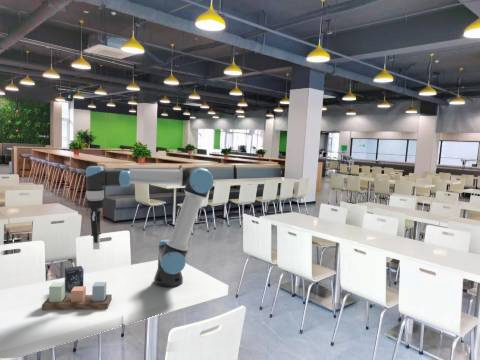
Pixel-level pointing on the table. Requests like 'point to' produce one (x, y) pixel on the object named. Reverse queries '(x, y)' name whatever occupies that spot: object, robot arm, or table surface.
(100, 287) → the slate button
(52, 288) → the pale green block
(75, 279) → the box
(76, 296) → the orange block
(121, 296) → the table surface
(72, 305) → the panel
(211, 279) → the table surface
